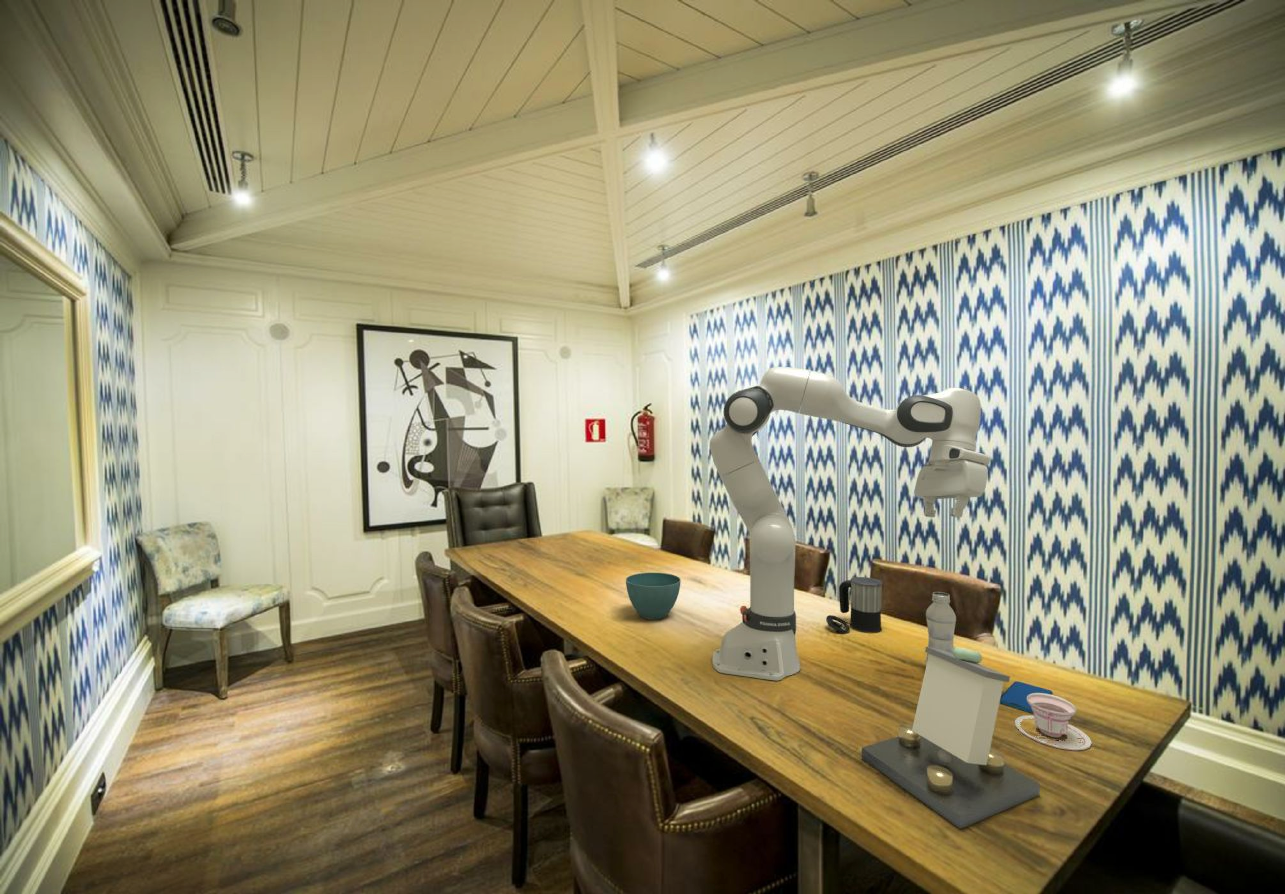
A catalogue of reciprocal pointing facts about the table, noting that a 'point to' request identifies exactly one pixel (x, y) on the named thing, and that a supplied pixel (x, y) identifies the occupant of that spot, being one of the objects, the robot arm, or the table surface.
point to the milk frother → (859, 605)
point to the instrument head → (959, 704)
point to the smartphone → (1021, 695)
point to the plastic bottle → (940, 623)
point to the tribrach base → (965, 781)
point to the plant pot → (653, 593)
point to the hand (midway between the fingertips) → (942, 516)
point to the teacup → (1054, 721)
